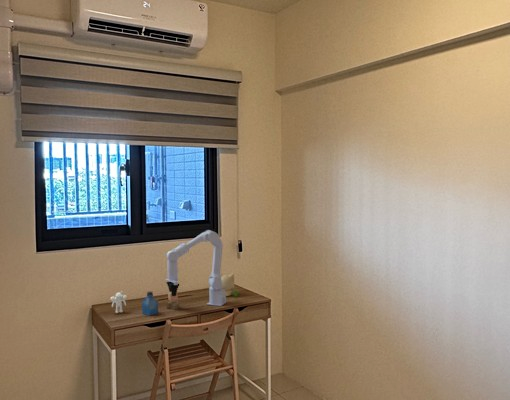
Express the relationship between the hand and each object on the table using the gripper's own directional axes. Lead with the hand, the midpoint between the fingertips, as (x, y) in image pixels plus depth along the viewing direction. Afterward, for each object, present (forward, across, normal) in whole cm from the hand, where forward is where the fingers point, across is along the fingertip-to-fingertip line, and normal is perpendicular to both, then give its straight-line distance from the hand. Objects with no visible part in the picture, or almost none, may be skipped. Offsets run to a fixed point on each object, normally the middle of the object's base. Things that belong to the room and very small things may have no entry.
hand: (172, 294), depth 272 cm
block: (+3, 0, 0) cm, 3 cm away
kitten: (+8, -13, +38) cm, 41 cm away
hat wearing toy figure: (+8, -6, -30) cm, 31 cm away
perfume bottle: (+8, +4, -14) cm, 17 cm away
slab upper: (+6, 0, 0) cm, 6 cm away
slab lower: (+8, 0, 0) cm, 8 cm away
